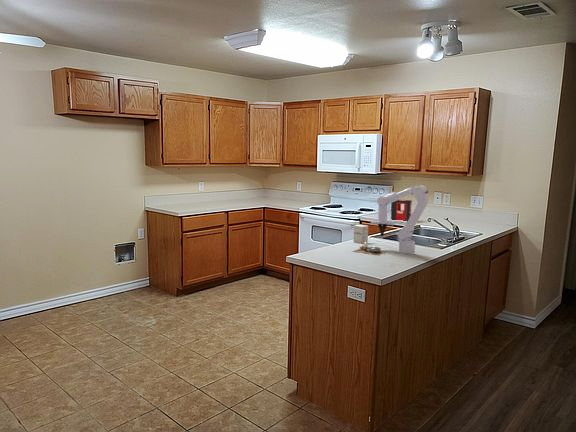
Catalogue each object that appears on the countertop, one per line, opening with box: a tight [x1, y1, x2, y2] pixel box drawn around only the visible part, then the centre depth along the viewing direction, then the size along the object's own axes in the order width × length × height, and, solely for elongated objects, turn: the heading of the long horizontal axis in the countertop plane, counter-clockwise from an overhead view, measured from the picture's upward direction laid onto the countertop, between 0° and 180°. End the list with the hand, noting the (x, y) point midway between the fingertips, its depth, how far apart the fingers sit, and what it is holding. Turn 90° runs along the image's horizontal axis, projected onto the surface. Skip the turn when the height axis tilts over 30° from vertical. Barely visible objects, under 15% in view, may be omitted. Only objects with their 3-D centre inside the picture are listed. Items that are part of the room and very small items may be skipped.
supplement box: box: [353, 224, 369, 245], centre depth 305 cm, size 7×7×13 cm
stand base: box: [352, 248, 389, 257], centre depth 274 cm, size 18×15×1 cm
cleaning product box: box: [390, 199, 413, 221], centre depth 406 cm, size 16×9×20 cm, turn 65°
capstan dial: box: [359, 242, 382, 253], centre depth 274 cm, size 14×7×5 cm, turn 50°
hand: (382, 235), depth 283 cm, fingers closed
